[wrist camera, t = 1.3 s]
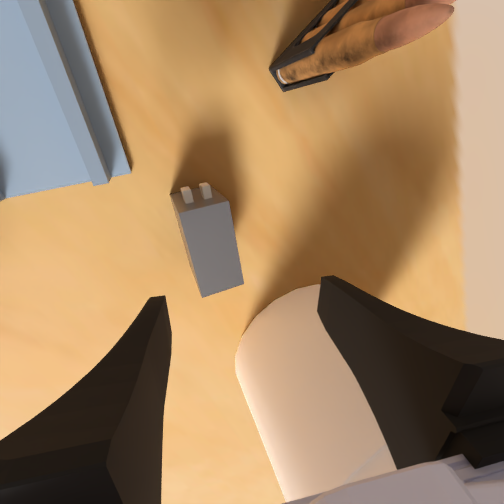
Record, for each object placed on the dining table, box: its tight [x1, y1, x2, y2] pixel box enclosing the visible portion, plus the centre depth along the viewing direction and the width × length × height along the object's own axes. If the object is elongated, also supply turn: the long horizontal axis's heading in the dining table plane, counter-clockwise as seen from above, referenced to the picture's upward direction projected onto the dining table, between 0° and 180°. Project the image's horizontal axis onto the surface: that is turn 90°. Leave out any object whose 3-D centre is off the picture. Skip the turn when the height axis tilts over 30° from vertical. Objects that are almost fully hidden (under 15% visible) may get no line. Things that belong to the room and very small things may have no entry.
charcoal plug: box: [170, 182, 244, 298], centre depth 19 cm, size 3×7×5 cm, turn 8°
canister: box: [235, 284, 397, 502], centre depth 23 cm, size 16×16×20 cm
